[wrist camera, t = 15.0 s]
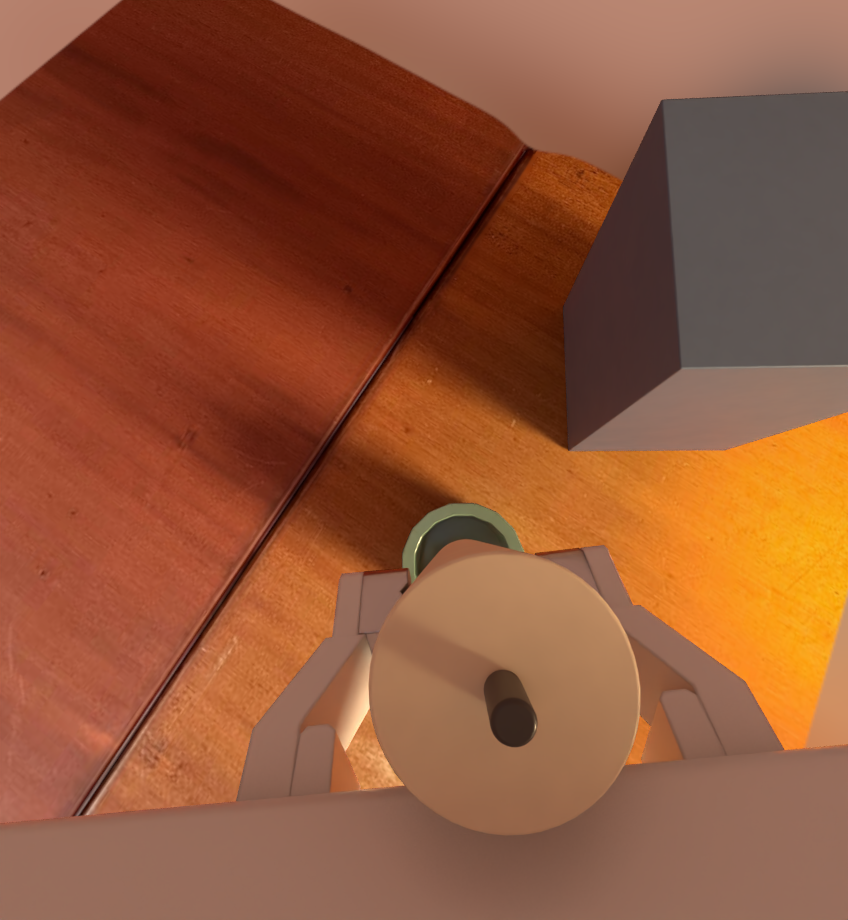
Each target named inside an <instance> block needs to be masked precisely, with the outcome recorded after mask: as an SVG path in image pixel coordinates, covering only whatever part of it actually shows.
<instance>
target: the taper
mask: <svg viewBox="0 0 848 920" xmlns="http://www.w3.org/2000/svg"><path fill="white" fill-rule="evenodd" d="M368 687H369V705H370V711H371V717H372V722H373V725H374V729H375V732H376V735H377V739H378V741H379V744H380V746H381V748H382V750H383V753H384V755H385V757H386V759H387V760H388V762H389V764H390V765H391V767H392V769H393V770H394V772H395V774H396V775H397V776H398V777H399V779H400V780H401V781H402V782H403V784H404V785H405V786H406V788H407V789H408V790H409V791H410V792H411V793H412V794H413V795H414V796H415V797H417V798H418V799H419V800H420V801H421V802H422V803H423V804H425V805H426V806H427V807H429V808H430V809H431V810H433V811H434V812H435V813H437V814H438V815H440V816H442V817H444V818H446V819H447V820H449V821H451V822H453V823H455V824H458V825H460V826H463V827H465V828H468V829H471V830H475V831H479V832H483V833H487V834H496V835H505V836H506V835H526V834H531V833H537V832H542V831H545V830H548V829H551V828H554V827H557V826H560V825H562V824H564V823H566V822H568V821H570V820H572V819H574V818H576V817H577V816H578V815H580V814H581V813H583V812H584V811H586V810H587V809H588V808H590V807H591V806H592V805H593V804H594V803H595V802H596V801H598V800H599V799H600V798H601V797H602V796H603V795H604V794H605V793H606V791H607V790H608V789H609V788H610V786H611V785H612V784H613V783H614V781H615V780H616V778H617V777H618V775H619V773H620V772H621V770H622V768H623V767H624V765H625V763H626V761H627V758H628V756H629V754H630V751H631V749H632V747H633V743H634V739H635V736H636V732H637V728H638V722H639V715H640V682H639V673H638V668H637V664H636V660H635V656H634V652H633V650H632V647H631V644H630V642H629V639H628V637H627V634H626V632H625V631H624V629H623V627H622V625H621V623H620V621H619V619H618V618H617V616H616V615H615V614H614V612H613V611H612V609H611V608H610V606H609V605H608V604H607V603H606V601H605V600H604V599H603V598H602V597H601V596H600V595H599V594H598V593H597V591H596V590H595V589H593V588H592V587H591V586H590V585H589V584H588V583H586V582H585V581H584V580H583V579H582V578H580V577H579V576H577V575H576V574H574V573H573V572H571V571H570V570H568V569H567V568H565V567H563V566H561V565H559V564H557V563H555V562H552V561H550V560H547V559H545V558H542V557H539V556H536V555H532V554H528V553H524V552H520V551H516V550H512V549H508V548H504V547H500V546H496V545H492V544H488V543H484V542H480V541H476V540H471V539H462V540H457V541H454V542H451V543H449V544H448V545H446V546H445V547H443V548H442V549H441V550H440V551H439V552H438V553H437V555H436V556H435V557H434V558H433V559H432V560H431V562H430V563H429V564H428V565H427V566H426V568H425V569H424V570H423V571H422V572H421V573H420V575H419V576H418V577H417V578H416V579H415V581H414V582H413V583H412V584H411V585H410V586H409V588H408V589H407V590H406V591H405V592H404V594H403V595H402V596H401V597H400V598H399V599H398V601H397V602H396V603H395V605H394V606H393V608H392V609H391V611H390V612H389V614H388V615H387V617H386V619H385V621H384V623H383V625H382V627H381V630H380V632H379V634H378V637H377V640H376V643H375V646H374V649H373V654H372V659H371V663H370V671H369V684H368Z"/></svg>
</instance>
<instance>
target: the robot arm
mask: <svg viewBox="0 0 848 920" xmlns="http://www.w3.org/2000/svg"><path fill="white" fill-rule="evenodd" d="M535 555H536V556H539V557H542V558H545V559H547V560H550V561H552V562H555V563H557V564H559V565H561V566H563V567H565V568H567V569H568V570H570V571H571V572H573V573H574V574H576V575H577V576H579V577H580V578H582V579H583V580H584V581H585V582H586V583H588V584H589V585H590V586H591V587H592V588H593V589H595V590H596V591H597V593H598V594H599V595H600V596H601V597H602V598H603V599H604V600H605V601H606V603H607V604H608V605H609V606H610V608H611V609H612V611H613V612H614V614H615V615H616V616H617V618H618V619H619V621H620V623H621V625H622V627H623V629H624V631H625V632H626V634H627V637H628V639H629V642H630V644H631V647H632V650H633V652H634V656H635V660H636V664H637V668H638V673H639V682H640V715H641V717H642V718H643V719H644V720H645V721H646V722H647V723H648V724H649V725H650V726H651V728H650V732H649V735H648V738H647V742H646V745H645V748H644V752H643V755H642V758H641V760H642V764H631V765H624V767H623V768H622V770H621V772H620V773H619V775H618V777H617V778H616V780H615V781H614V783H613V784H612V785H611V786H610V788H609V789H608V790H607V791H606V793H605V794H604V795H603V796H602V797H601V798H600V799H599V800H598V801H596V802H595V803H594V804H593V805H592V806H591V807H590V808H588V809H587V810H586V811H584V812H583V813H581V814H580V815H578V816H577V817H576V818H574V819H572V820H570V821H568V822H566V823H564V824H562V825H560V826H557V827H554V828H551V829H548V830H545V831H542V832H537V833H531V834H526V835H506V836H505V835H496V834H487V833H483V832H479V831H475V830H471V829H468V828H465V827H463V826H460V825H458V824H455V823H453V822H451V821H449V820H447V819H446V818H444V817H442V816H440V815H438V814H437V813H435V812H434V811H433V810H431V809H430V808H429V807H427V806H426V805H425V804H423V803H422V802H421V801H420V800H419V799H418V798H417V797H415V796H414V795H413V794H412V793H411V792H410V791H409V790H408V789H407V788H406V786H395V787H384V788H374V789H363V790H360V784H359V782H358V779H357V777H356V775H355V773H354V770H353V768H352V766H351V764H350V761H349V759H348V757H347V755H346V752H345V751H346V749H347V747H348V746H349V744H350V742H351V740H352V738H353V737H354V735H355V733H356V731H357V729H358V728H359V726H360V724H361V722H362V721H363V719H364V717H365V715H366V713H367V712H368V710H369V708H370V705H369V687H368V684H369V671H370V663H371V659H372V654H373V649H374V646H375V643H376V640H377V637H378V634H379V632H380V630H381V627H382V625H383V623H384V621H385V619H386V617H387V615H388V614H389V612H390V611H391V609H392V608H393V606H394V605H395V603H396V602H397V601H398V599H399V598H400V597H401V596H402V595H403V594H404V592H405V591H406V590H407V589H408V588H409V586H410V585H411V575H410V571H409V568H400V569H388V570H376V571H364V572H356V573H345V574H342V575H341V577H340V579H339V586H338V594H337V602H336V610H335V619H334V627H333V635H332V637H331V638H325V640H324V641H323V642H322V643H321V645H320V646H319V647H318V648H317V650H316V651H315V652H314V653H313V655H312V656H311V657H310V658H309V660H308V661H307V662H306V663H305V665H304V666H303V667H302V668H301V670H300V671H299V672H298V673H297V675H296V676H295V677H294V678H293V680H292V681H291V682H290V683H289V685H288V686H287V687H286V688H285V690H284V691H283V692H282V693H281V695H280V696H279V697H278V698H277V700H276V701H275V702H274V703H273V704H272V706H271V707H270V708H269V709H268V711H267V712H266V713H265V714H264V716H263V717H262V718H261V719H260V721H259V722H258V723H257V724H256V726H255V727H254V728H253V730H252V734H251V739H250V743H249V747H248V752H247V756H246V760H245V765H244V769H243V773H242V778H241V782H240V786H239V791H238V795H237V799H236V801H235V802H224V803H214V804H203V805H192V806H182V807H171V808H160V809H150V810H139V811H128V812H118V813H107V814H96V815H85V816H75V817H64V818H53V819H43V820H32V821H21V822H11V823H0V920H848V744H846V745H835V746H824V747H814V748H803V749H793V750H784V748H783V747H782V745H781V743H780V741H779V740H778V738H777V736H776V734H775V733H774V731H773V729H772V727H771V726H770V724H769V722H768V720H767V719H766V717H765V715H764V713H763V712H762V710H761V708H760V707H759V705H758V703H757V701H756V700H755V698H754V696H753V694H752V693H751V691H750V689H749V687H748V686H747V684H746V682H745V681H744V680H742V679H741V678H740V677H738V676H737V675H736V674H734V673H733V672H731V671H730V670H729V669H727V668H726V667H725V666H723V665H722V664H720V663H719V662H718V661H716V660H715V659H714V658H712V657H711V656H709V655H708V654H707V653H705V652H704V651H703V650H701V649H700V648H698V647H697V646H696V645H694V644H693V643H692V642H690V641H689V640H687V639H686V638H685V637H683V636H682V635H681V634H679V633H678V632H676V631H675V630H674V629H672V628H671V627H670V626H668V625H667V624H666V623H664V622H663V621H661V620H660V619H659V618H657V617H656V616H655V615H653V614H652V613H650V612H649V611H648V610H646V609H645V608H644V607H642V606H641V605H634V606H633V604H632V602H631V600H630V598H629V595H628V593H627V591H626V589H625V587H624V584H623V582H622V580H621V578H620V575H619V573H618V571H617V569H616V567H615V564H614V562H613V560H612V558H611V556H610V553H609V551H608V549H607V548H606V547H605V546H604V545H601V546H593V547H584V548H573V549H565V550H557V551H549V552H540V553H535Z"/></svg>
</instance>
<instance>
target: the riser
mask: <svg viewBox="0 0 848 920" xmlns="http://www.w3.org/2000/svg"><path fill="white" fill-rule="evenodd" d="M563 322H564V349H565V376H566V403H567V430H568V451H664V450H727V449H730V448H734V447H737V446H740V445H743V444H746V443H750V442H753V441H756V440H759V439H762V438H766V437H769V436H772V435H775V434H778V433H782V432H785V431H788V430H791V429H794V428H798V427H801V426H804V425H807V424H811V423H814V422H817V421H820V420H823V419H827V418H830V417H833V416H836V415H839V414H843V413H846V412H848V92H847V91H846V92H825V93H802V94H779V95H756V96H733V97H712V98H690V99H667V100H662V101H661V102H660V104H659V106H658V109H657V111H656V113H655V115H654V117H653V119H652V121H651V124H650V125H649V128H648V130H647V132H646V134H645V136H644V138H643V140H642V143H641V144H640V147H639V149H638V151H637V153H636V155H635V157H634V159H633V161H632V163H631V165H630V167H629V170H628V172H627V174H626V176H625V178H624V180H623V182H622V184H621V186H620V188H619V190H618V193H617V195H616V197H615V199H614V201H613V203H612V205H611V207H610V209H609V211H608V213H607V216H606V218H605V220H604V222H603V224H602V226H601V228H600V230H599V232H598V234H597V237H596V239H595V241H594V243H593V245H592V247H591V249H590V251H589V253H588V255H587V258H586V260H585V262H584V264H583V266H582V268H581V270H580V272H579V274H578V276H577V279H576V281H575V283H574V285H573V287H572V289H571V291H570V293H569V295H568V297H567V300H566V302H565V304H564V306H563Z"/></svg>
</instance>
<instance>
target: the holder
mask: <svg viewBox="0 0 848 920" xmlns="http://www.w3.org/2000/svg"><path fill="white" fill-rule="evenodd" d="M462 539H471V540H476V541H480V542H484V543H488V544H492V545H496V546H500V547H504V548H508V549H512V550H516V551H520V552H524V550H523V547H522V545H521V543H520V541H519V538H518V536H517V534H516V531H515V530H514V528H513V527H512V526H511V525H510V524H509V523H508V522H507V521H506V520H505V519H504V518H503V517H502V516H500V515H499V514H498V513H497V512H496V511H493V510H491V509H488V508H486V507H483V506H481V505H479V504H476V503H475V504H474V503H451V504H450V503H449V504H447V505H444V506H442V507H439V508H437V509H435V510H432V511H430V512H429V513H427V514H426V515H425V516H424V517H423V518H422V519H421V520H420V521H419V522H418V523H417V524H416V525H415V526H414V527H413V528H412V530H411V532H410V534H409V536H408V539H407V541H406V544H405V546H404V548H403V552H402V568H409V571H410V575H411V584H412V583H413V582H414V581H415V579H416V578H417V577H418V576H419V575H420V573H421V572H422V571H423V570H424V569H425V568H426V566H427V565H428V564H429V563H430V562H431V560H432V559H433V558H434V557H435V556H436V555H437V553H438V552H439V551H440V550H441V549H442V548H443V547H445V546H446V545H448V544H449V543H451V542H454V541H457V540H462Z"/></svg>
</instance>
